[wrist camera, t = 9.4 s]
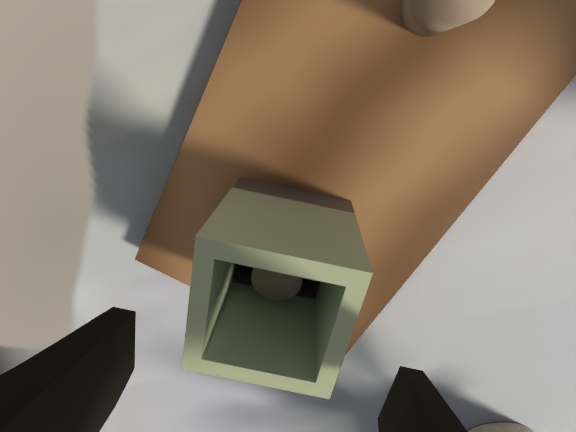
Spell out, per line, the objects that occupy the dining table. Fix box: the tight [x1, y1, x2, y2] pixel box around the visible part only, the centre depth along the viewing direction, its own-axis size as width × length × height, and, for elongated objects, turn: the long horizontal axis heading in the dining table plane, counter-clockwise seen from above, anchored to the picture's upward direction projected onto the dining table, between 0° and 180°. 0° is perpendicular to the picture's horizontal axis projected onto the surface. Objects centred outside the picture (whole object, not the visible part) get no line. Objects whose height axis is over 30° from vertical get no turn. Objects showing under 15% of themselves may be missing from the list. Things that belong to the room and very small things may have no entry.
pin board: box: [135, 0, 576, 355], centre depth 13 cm, size 12×20×4 cm, turn 152°
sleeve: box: [182, 177, 373, 399], centre depth 13 cm, size 5×5×6 cm
